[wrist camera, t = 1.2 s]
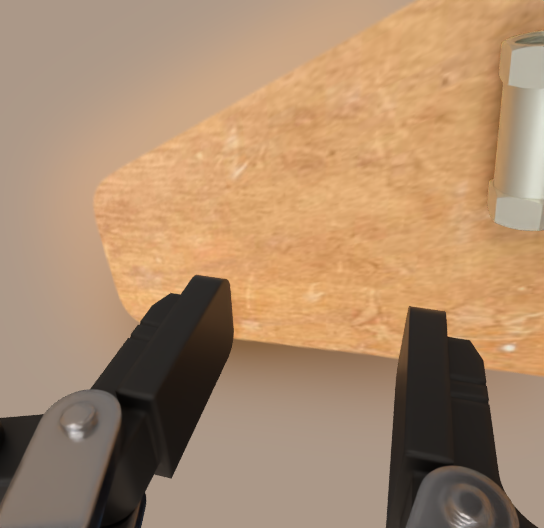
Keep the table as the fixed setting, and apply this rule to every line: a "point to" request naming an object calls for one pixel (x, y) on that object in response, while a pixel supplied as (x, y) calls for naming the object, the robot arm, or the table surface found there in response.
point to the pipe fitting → (520, 136)
